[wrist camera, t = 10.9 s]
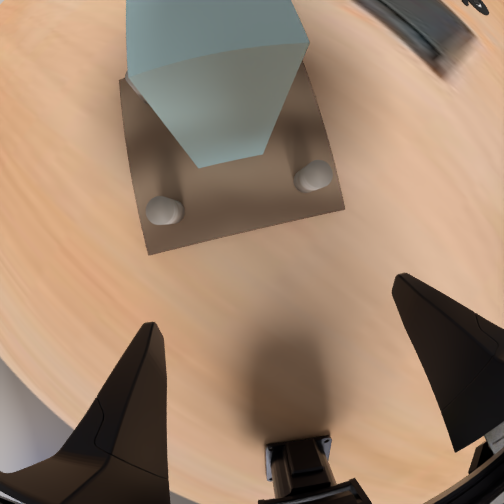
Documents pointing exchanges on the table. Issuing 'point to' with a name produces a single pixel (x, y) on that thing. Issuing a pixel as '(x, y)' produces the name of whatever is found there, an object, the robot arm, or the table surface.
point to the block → (215, 70)
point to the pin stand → (229, 175)
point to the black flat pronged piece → (477, 5)
